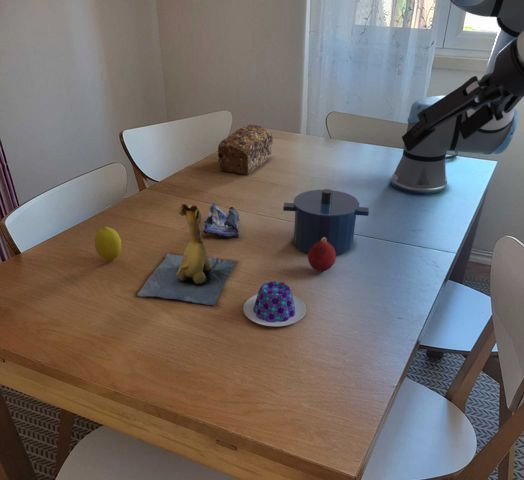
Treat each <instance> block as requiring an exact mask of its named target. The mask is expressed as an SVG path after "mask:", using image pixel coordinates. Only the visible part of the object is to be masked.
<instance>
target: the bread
mask: <svg viewBox="0 0 524 480" xmlns="http://www.w3.org/2000/svg"><path fill="white" fill-rule="evenodd" d="M273 139H274V138H273V135H272V133H271V132H270V131H268V129H266V128H265V127H262V126H260V125H258V124H246V125H244V126H242V127H240V128H239V129H237V130H236V131H234V132H233V133H231V134H230V135H228V136H226V137H225V138H224V139H223V140H221V141H220V143H219V144H218V147H217V157H218V163H219V169H220V170H221V171H225V172H227V173H231V172H234V173H237V174H239V175H247V176H248V175H250V174H251V173H252V172H254V171H255V170H256V169H258V168H259V167H261V166H262V165H263V164H264V163H266V162H267V161H268V160H269V159H270V158H271V156H272V152H273V145H274V144H273V143H274V141H273Z"/></svg>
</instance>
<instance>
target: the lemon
mask: <svg viewBox="0 0 524 480" xmlns="http://www.w3.org/2000/svg"><path fill="white" fill-rule="evenodd" d="M94 248H95V250H96V253H97V254H98V255H99V256H100V258H102V259H104V260H108V261H109V262H113V260H115V259H116V258H118V257H119V256H120V254H121V252H122V249H123V248H122V240H121V237H120V235H119V233H118V232H117V231H116V230H115V229H114V228H111V227H108V226H103V227H102V228H100V229H98V231H97V232H96V233H95V235H94Z"/></svg>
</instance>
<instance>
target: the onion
mask: <svg viewBox="0 0 524 480" xmlns="http://www.w3.org/2000/svg"><path fill="white" fill-rule="evenodd" d="M307 259H308V263H309V265H310V267H311V268H312V269H313V270H315V272H316V271H317V272H318V273H324V272H326V271H328V270H329V269H331V268H333V266H334V265H335V263H336V260H337V255H336V253H335V249H334V247H333V246H332V245H331V244H330V243H328V242H327V238H325V237H323V238H322V239H321V240H320V241H319V242H317V243H315V244H314V245H313V246H312V247H311V249H310V251H309V254H308V253H307Z"/></svg>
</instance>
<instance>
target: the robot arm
mask: <svg viewBox="0 0 524 480" xmlns="http://www.w3.org/2000/svg"><path fill="white" fill-rule="evenodd" d="M449 1H450V2H451V3H452V4H453V5H454V6H455V7H456V8H459V9H460V10H462V11H464V12H465V13H468V14H470V15H474V16H479V17H483V18H484V17H485V18H496V24H497V26H498V28H499V30H498V33H497V34H496V35H497V36H496V38H495V42H494V45H493V47H492V50H491V53H490V56H489V58H488V59H489V60H488V62H487V65H486V68H485V71H484V74H483V76H482V77H481V79H479V78H478V77H477V75H474V76H471V77H470V78H469V79H468V80H467V81H465V82H464V83H462V84H461V85H460V86H459V87H457V88H455V89H454V90H453V91H451V92H449V93H448V94H447V95H433V96H426V97H422V98H419V99H417V100H415V101H414V102H413V103H412V104H411V106H410V110H409V114H408V118H407V128H406V132H405V133H404V134H403V135H402V136H401V139H402V142H403V144H404V145H403V150H402V155H401V158H400V160H399V162H398V164H397V166H396V169H395V171H394V172H393V173H392V175H391V185H392V186H393V187H394V188H395V189H397V190H399V191H401V192H404V193H407V194H411V195H421V196H427V195H428V196H429V195H430V196H431V195H438V194H440V193H443V192H444V191H445V190H446V188H447V184H448V178H447V169H446V160H450V159H454V158H456V157H457V156H458V155H459V153H467V154H468V153H470V154H479V155H480V154H481V155H499V154H502V153H503V152H505V151H506V150H507V148H508V147H509V145H510V144H511V142H512V140H513V137H514V134H515V132H516V129H517V125H518V119H519V113H518V110H517V109H516V108H515V107H516V106H517V104H518V103H519V102H520V101H521V100H522V99H523V98H524V0H449ZM447 152H454V154H451V155H447Z"/></svg>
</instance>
